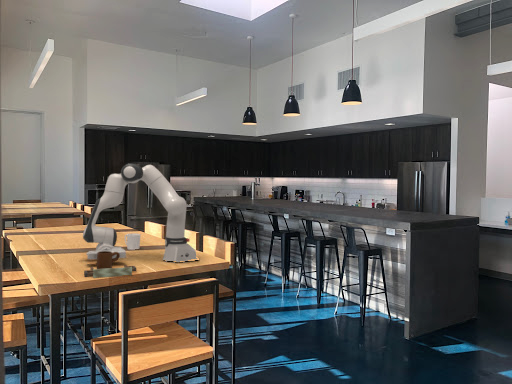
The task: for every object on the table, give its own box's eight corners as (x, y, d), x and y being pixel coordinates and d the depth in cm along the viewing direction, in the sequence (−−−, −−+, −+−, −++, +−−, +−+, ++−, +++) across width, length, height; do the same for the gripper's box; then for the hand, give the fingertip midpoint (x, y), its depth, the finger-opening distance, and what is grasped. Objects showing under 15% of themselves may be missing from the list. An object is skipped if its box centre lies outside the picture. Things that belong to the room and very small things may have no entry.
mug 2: (142, 248, 287) (142, 233, 286) (137, 250, 278) (137, 235, 277) (126, 247, 288) (127, 233, 287) (121, 249, 279) (121, 234, 278)
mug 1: (116, 266, 227) (116, 249, 226) (122, 269, 221) (122, 252, 221) (94, 269, 219) (95, 251, 218) (100, 272, 213) (100, 254, 213)
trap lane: (133, 267, 226) (133, 260, 226) (139, 274, 211) (139, 267, 210) (83, 270, 214) (83, 263, 214) (85, 278, 199) (85, 270, 199)
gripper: (86, 247, 230) (87, 252, 218) (123, 246, 239) (127, 250, 227) (85, 258, 230) (87, 263, 218) (123, 257, 239) (127, 262, 227)
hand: (108, 257), depth 222 cm, fingers closed
